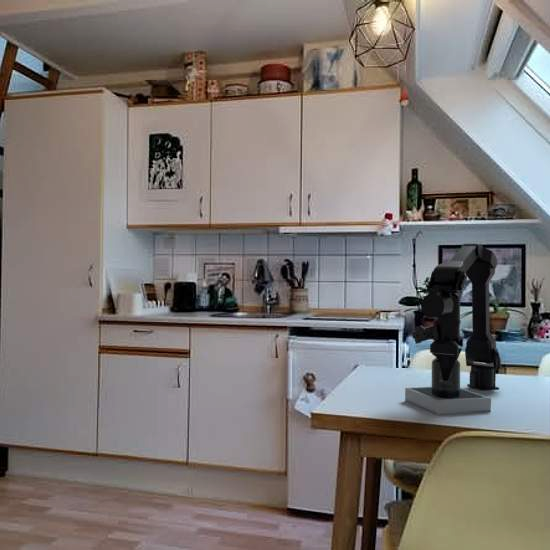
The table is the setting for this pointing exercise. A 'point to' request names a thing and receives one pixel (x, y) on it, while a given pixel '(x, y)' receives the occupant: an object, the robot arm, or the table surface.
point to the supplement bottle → (445, 388)
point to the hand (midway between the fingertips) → (446, 378)
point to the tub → (447, 401)
